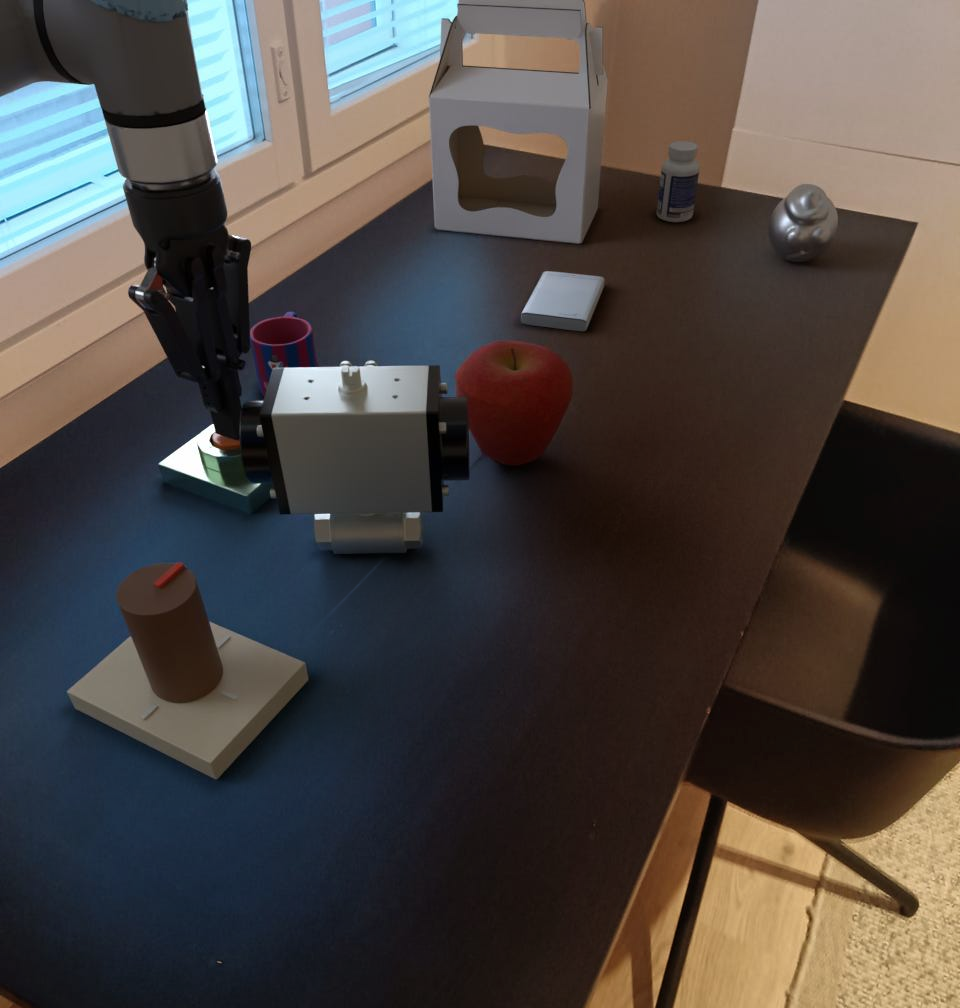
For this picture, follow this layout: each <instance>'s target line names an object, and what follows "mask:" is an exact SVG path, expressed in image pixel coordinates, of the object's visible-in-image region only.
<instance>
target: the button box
mask: <svg viewBox="0 0 960 1008" xmlns="http://www.w3.org/2000/svg"><path fill="white" fill-rule="evenodd" d="M214 433H215V429H214V425H213V423H212V424H210V425H209V426H208V427H206V428H204V430H202V431H201V432H200V433H198V434H197V435H195V437H192V438H191V439H190V440H189V441H187V442H186V443H185V444H183V445H182V446H181V447H179V448H177V449H176V450H174V451H173V452H172V453H171V454H169V455H168V456H167V457H165V458H164V459H163V460H162V461H160V462H159V463H158V464H157V465H158V468H159V472H160V474H161V475H160V476H161V478H162V481H163V483H165V484H168V485H170V486H173V487H176V488H178V489H181V490H184V491H187V492H190V493H193V494H195V495H198V496H200V497H203V498H206V499H208V500H211V501H214V502H217V503H219V504H221V505H225V506H227V507H230V508H232V509H236V510H237V511H241V512H244V513H247V514H249V515H252V514H253V513H254V512H255V511H257V510H258V509H259V508H260V507H261V506H262V505H264V504H265V503H266V502H267V501H268V500H269V499H272V498H271V497H270V489H271V488H274V484H273V483H272V484H252V483H251V482H249V480H248V479H247V477H246V474H245V471H244V468H243V463H242V458H241V451H240V448H237V449H234V450H221V449H218V448H215V447H214V444H213V440H212V436H213V434H214Z"/></svg>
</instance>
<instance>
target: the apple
mask: <svg viewBox="0 0 960 1008" xmlns="http://www.w3.org/2000/svg"><path fill="white" fill-rule="evenodd" d="M454 378H455V397H467V398H468V418H469V433H470V434H471V436H472V438H473V439H474V441H475V443H476V445H477V447H478V448H479V450H480V452H481V453H482V454H483V455H484V456H486V457H487V458H489V459H491V460H492V461H494V462H496V463H498V464H501V465H504V466H512V467H513V466H514V467H515V466H522V465H525V464H528V463H530V462H533V461H535V460H537V459H538V458H539V457H540V456H542V455H543V454H544V453H545V451H546V450H547V449H548V447H549V444H550V443H551V441H552V440H553V438H554V437H555V435H556V433H557V432H558V429H559V427H560V425H561V423H562V421H563V418H564V416H565V415H566V413H567V410H568V408H569V406H570V403H571V400H572V398H573V396H574V388H573V387H574V386H573V385H574V384H573V375H572V372H571V369H570V367H569V364H568V363H566V361H565V360H564V359H563V358H562V357H561V356H560V355H559V354H558V353H556V352H555V351H553V350H552V349H550V348H549V347H547V346H543V345H539V344H536V343H531V342H525V341H520V340H497V341H494V342H491V343H488V344H485V345H483V346H481V347H480V348H478V349H476V350H475V351H473V352H471V354H470V355H468V356H467V358H465V360H464V361H463V362H462V363H461V365H460V366H459V368H458V369H457V370H456V372H455V373H454Z"/></svg>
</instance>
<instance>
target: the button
mask: <svg viewBox="0 0 960 1008" xmlns="http://www.w3.org/2000/svg"><path fill="white" fill-rule="evenodd" d="M212 440H213V444H214V447H215V448H218V449H221V450H234V449H237V448H240V439H239V440H238V441H237V440H234V439H231V438H228V437H225V436H222V435H219V434H216V433H214V434H213V436H212Z"/></svg>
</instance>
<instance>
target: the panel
mask: <svg viewBox="0 0 960 1008" xmlns="http://www.w3.org/2000/svg"><path fill="white" fill-rule="evenodd" d="M209 623H210V626H211V630H212V633H213V636H214V639H215V643H216V646H217V649H218V653H219V656H220V659H221V662H222V666H223V675H222V678H221V680H220V682H219V684H218V685H217V686H216V687H215V689H213V690H212V691H211V692H210V693H208V694H207V695H205V696H204V697H202V698H199V699H197V700H194V701H190V702H184V703H174V702H168V701H165V700H163V699H161V698H159V697H158V696H157V695H156V694H155V693H154V692H153V690H152V688H151V686H150V683H149V681H148V678H147V676H146V673H145V670H144V668H143V665H142V663H141V660H140V658H139V655H138V653H137V650H136V648H135V645H134V643H133V640H132V637H131V635H130V636H129V637H128V638H126V639H125V640H124V641H122V643H121V644H119V645H118V646H117V647H115V649H114V650H112V651H111V652H110V653H109V654H108V655H107V656H105V657H104V658H103V659H102V660H101V661H100V662H99V663H98V664H96V665H95V666H94V667H93V668H91V670H90V671H89V672H87V673H86V674H84V676H83V677H82V678H80V679H79V680H78V681H77V682H75V683H74V685H72V686H71V687H70V688H69V689H67V691H66V693H67V695H68V697H69V700H70V701H71V704H72V706H73V708H74V709H75V710H77V711H79V712H81V713H83V714H84V715H87V716H89V717H91V718H93V719H95V720H96V721H99V722H101V723H103V724H105V725H106V726H109V727H111V728H113V729H114V730H117V731H118V732H120V733H123V734H124V735H127V736H129V737H130V738H132V739H135V740H136V741H139V742H140V743H142V744H145V745H146V746H148V747H150V748H152V749H155V750H156V751H158V752H160V753H161V754H162V753H163V754H164V755H166V756H168V757H170V758H172V759H174V760H176V761H178V762H180V763H182V764H184V765H186V766H188V767H189V768H191V769H194V770H196V771H198V772H200V773H202V774H204V775H206V776H208V777H210V778H212V779H214V780H216V781H217V780H218V779H219V778H220V777H221V776H222V775H223V774H224V772H225V771H227V770H228V768H229V767H230V766H231V765H232V764H233V763H234V762H235V760H236V759H238V757H239V756H240V755H241V754H242V753H243V752H244V751H245V750H246V749H247V747H248V746H249V745H250V744H252V742H253V741H254V740H255V739H256V738H257V737H258V736H259V735H260V733H261V732H262V731H263V730H265V728H266V727H267V726H268V725H269V724H270V723H271V721H272V720H274V718H275V717H277V715H278V714H279V713H280V712H281V710H283V708H284V707H285V706H286V705H287V704H289V702H290V701H291V700H292V699H293V698H294V697H295V696H296V694H298V692H299V691H300V690H301V689H302V688H303V687H304V686H305V684H307V682H308V681H309V680H310V679H309V675H308V670H307V665H306V662H305V661H303V660H300V659H298V658H296V657H293V656H291V655H289V654H286V653H283V652H282V651H279V650H277V649H274V648H272V647H270V646H268V645H265V644H263V643H261V642H258V641H256V640H254V639H251V638H249V637H246V636H244V635H243V634H239V633H237V632H235V631H232V630H230V629H228V628H226V627H223V626H221V625H219V624H216V623H214V622H212V621H209Z"/></svg>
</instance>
